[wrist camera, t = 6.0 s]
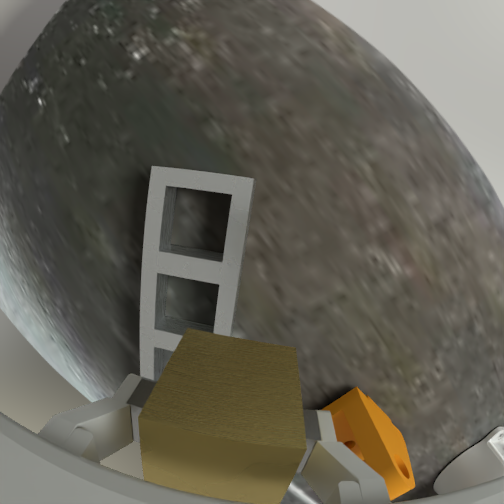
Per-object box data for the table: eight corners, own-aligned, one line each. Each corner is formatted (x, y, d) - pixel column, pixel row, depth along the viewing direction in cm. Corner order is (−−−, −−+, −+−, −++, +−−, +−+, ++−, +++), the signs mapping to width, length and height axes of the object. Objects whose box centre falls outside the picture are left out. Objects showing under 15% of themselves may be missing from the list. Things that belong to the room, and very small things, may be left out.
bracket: (299, 417, 30) (305, 505, 19) (354, 381, 29) (384, 467, 17) (350, 457, 31) (365, 531, 20) (398, 427, 30) (428, 500, 18)
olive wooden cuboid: (295, 347, 11) (306, 449, 6) (273, 423, 12) (270, 519, 7) (187, 327, 11) (138, 416, 6) (181, 406, 12) (146, 495, 7)
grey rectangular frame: (256, 179, 25) (253, 178, 22) (223, 397, 30) (218, 415, 27) (164, 167, 26) (151, 165, 23) (150, 380, 30) (141, 396, 28)
